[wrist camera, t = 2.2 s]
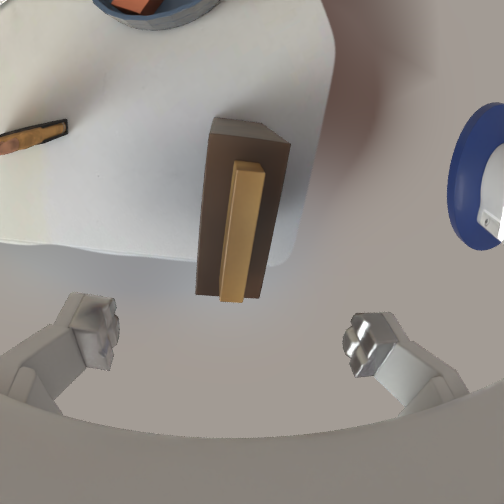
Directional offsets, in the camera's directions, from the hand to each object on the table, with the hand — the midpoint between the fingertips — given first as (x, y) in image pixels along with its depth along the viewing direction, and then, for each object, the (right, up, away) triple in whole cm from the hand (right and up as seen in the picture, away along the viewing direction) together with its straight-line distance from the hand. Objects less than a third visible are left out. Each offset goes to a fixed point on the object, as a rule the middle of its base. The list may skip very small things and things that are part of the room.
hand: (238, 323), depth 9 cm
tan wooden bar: (-1, +4, +10) cm, 11 cm away
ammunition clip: (-25, +16, +15) cm, 34 cm away
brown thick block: (-2, +11, +21) cm, 24 cm away
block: (-10, +27, +10) cm, 30 cm away
